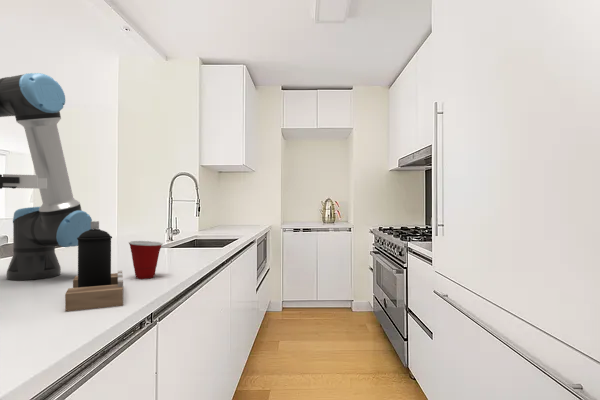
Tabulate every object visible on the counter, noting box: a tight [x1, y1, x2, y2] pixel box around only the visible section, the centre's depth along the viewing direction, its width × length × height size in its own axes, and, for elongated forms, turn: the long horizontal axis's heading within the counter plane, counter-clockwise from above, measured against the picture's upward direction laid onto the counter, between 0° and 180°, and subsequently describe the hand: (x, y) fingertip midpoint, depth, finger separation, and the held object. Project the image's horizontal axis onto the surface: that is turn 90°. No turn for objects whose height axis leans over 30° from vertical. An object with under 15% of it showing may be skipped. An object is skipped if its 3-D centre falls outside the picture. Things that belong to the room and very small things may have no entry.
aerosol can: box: [77, 220, 113, 288], centre depth 103 cm, size 8×8×20 cm
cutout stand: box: [64, 270, 124, 312], centre depth 103 cm, size 24×12×5 cm, turn 25°
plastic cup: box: [128, 240, 164, 280], centre depth 130 cm, size 11×11×12 cm
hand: (42, 182), depth 98 cm, fingers open, 13 cm apart
